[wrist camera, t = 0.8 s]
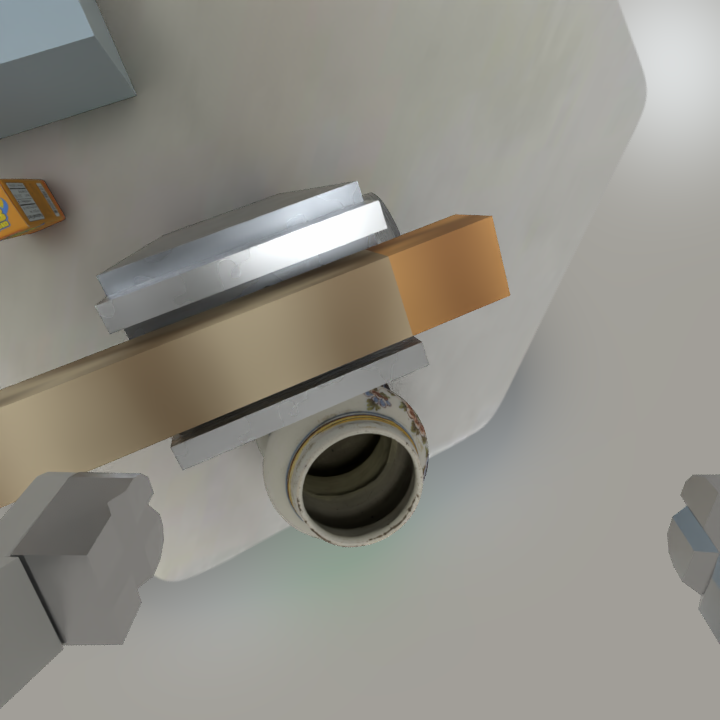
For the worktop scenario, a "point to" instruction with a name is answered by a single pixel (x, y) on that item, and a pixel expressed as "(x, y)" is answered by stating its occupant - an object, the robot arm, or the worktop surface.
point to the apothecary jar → (348, 469)
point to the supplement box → (26, 207)
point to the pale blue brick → (55, 63)
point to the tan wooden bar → (245, 350)
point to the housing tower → (247, 275)
